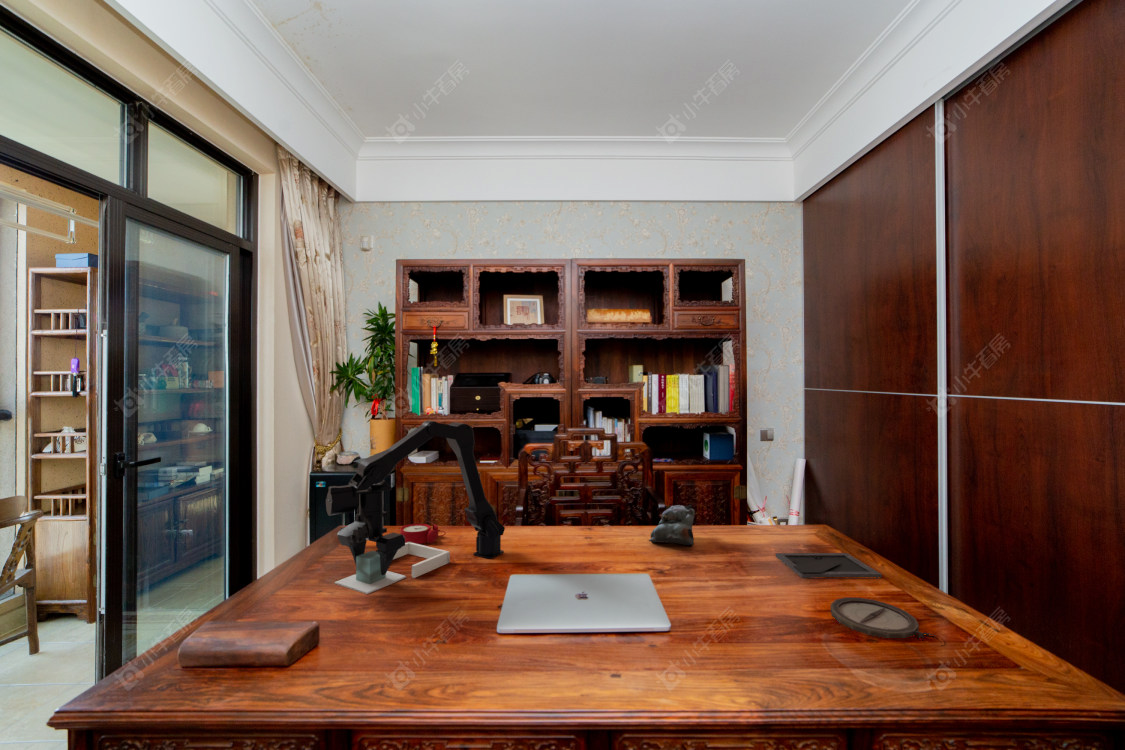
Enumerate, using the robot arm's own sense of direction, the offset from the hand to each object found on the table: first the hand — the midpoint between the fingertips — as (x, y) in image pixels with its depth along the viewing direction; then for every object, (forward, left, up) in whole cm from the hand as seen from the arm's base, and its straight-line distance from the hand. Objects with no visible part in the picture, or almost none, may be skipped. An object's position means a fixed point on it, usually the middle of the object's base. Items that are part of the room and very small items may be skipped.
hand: (371, 571), depth 133 cm
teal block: (0, 0, -2) cm, 2 cm away
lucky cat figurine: (-55, -69, -3) cm, 88 cm away
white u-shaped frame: (0, -13, -2) cm, 13 cm away
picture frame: (-98, -72, -3) cm, 122 cm away
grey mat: (0, 0, -2) cm, 2 cm away
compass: (-110, -41, -3) cm, 117 cm away
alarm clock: (+13, -30, -3) cm, 33 cm away
